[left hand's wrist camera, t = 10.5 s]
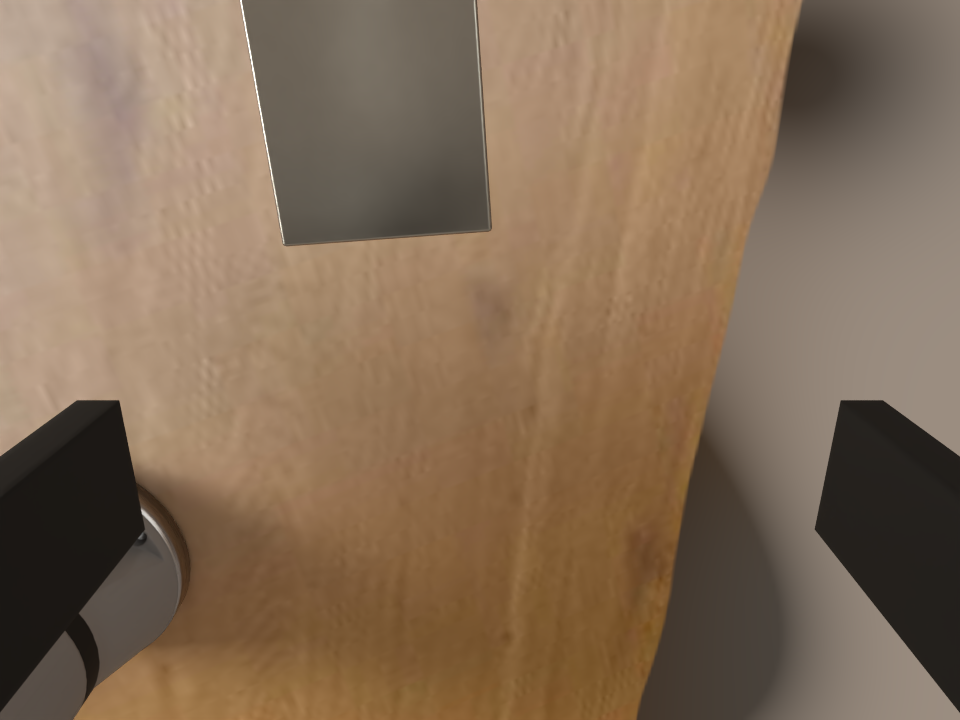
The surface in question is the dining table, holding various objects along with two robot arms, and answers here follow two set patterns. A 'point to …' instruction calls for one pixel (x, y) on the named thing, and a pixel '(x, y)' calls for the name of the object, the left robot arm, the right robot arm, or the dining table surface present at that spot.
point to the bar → (371, 117)
